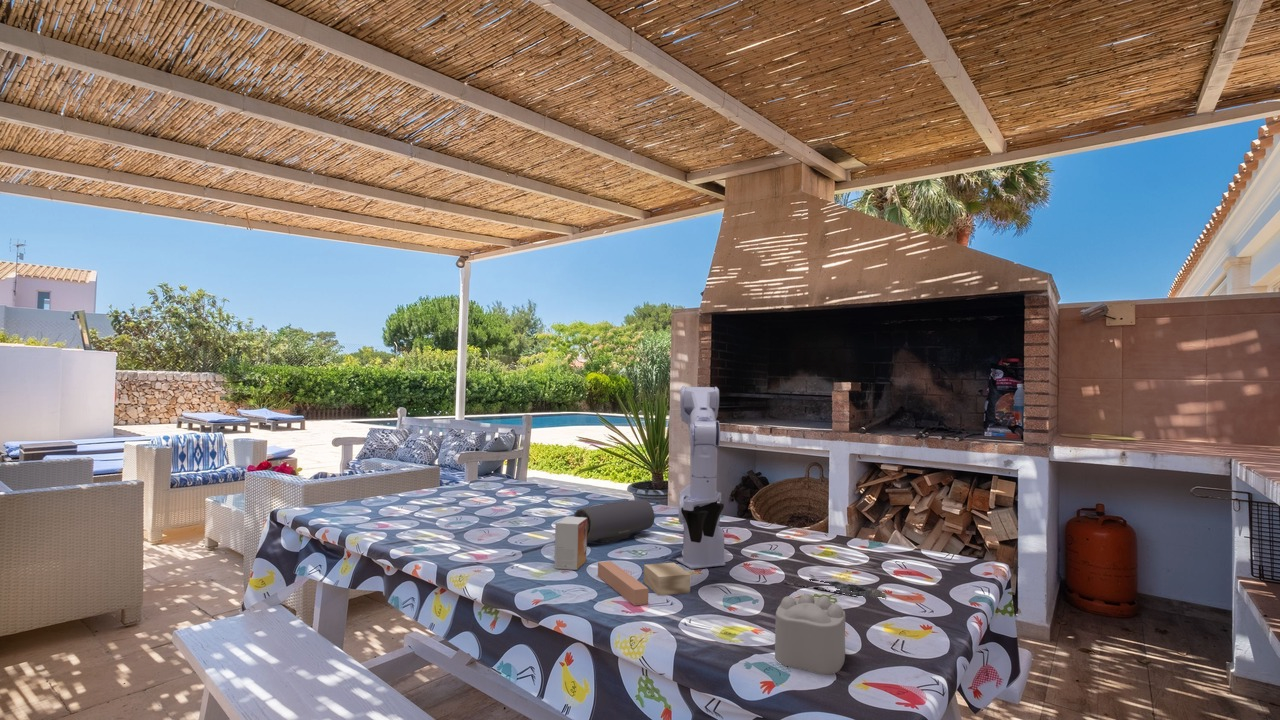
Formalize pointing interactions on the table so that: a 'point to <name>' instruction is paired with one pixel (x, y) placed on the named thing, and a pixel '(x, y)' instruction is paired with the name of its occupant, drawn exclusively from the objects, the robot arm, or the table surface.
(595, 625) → the table surface
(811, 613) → the lumpy-topped squat cylinder
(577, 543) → the small box
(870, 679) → the table surface
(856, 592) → the driftwood
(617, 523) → the bluetooth speaker
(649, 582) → the beech block
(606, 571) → the terracotta batten
